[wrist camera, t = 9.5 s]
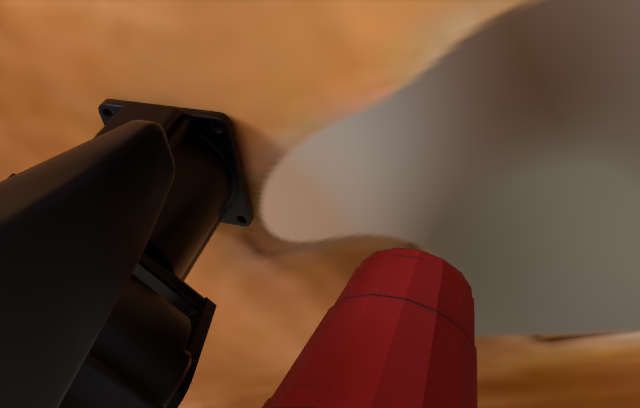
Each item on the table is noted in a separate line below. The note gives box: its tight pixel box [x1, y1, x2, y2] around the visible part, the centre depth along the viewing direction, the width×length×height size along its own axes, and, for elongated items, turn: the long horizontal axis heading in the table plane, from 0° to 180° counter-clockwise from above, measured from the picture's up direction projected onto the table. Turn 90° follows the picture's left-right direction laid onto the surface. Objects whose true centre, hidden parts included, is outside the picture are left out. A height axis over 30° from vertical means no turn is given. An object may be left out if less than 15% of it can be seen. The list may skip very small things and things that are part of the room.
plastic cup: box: [262, 248, 477, 408], centre depth 25 cm, size 11×11×12 cm
